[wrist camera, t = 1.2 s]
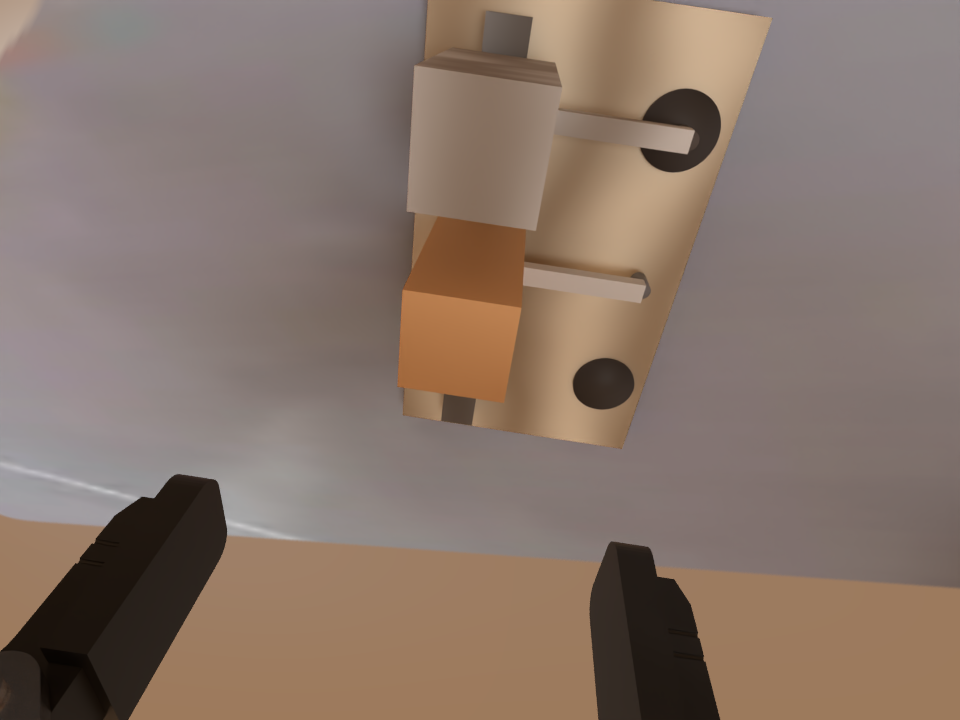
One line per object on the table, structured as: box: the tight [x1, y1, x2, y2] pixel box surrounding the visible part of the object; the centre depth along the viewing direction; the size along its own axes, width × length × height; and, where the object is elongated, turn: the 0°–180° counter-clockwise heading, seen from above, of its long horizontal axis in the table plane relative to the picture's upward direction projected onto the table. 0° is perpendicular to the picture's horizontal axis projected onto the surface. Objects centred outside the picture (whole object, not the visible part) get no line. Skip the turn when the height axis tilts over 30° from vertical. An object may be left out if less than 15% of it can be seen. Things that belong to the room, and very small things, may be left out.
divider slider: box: [397, 216, 651, 403], centre depth 21 cm, size 9×4×8 cm, turn 83°
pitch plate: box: [403, 0, 772, 449], centre depth 22 cm, size 12×20×10 cm, turn 173°
